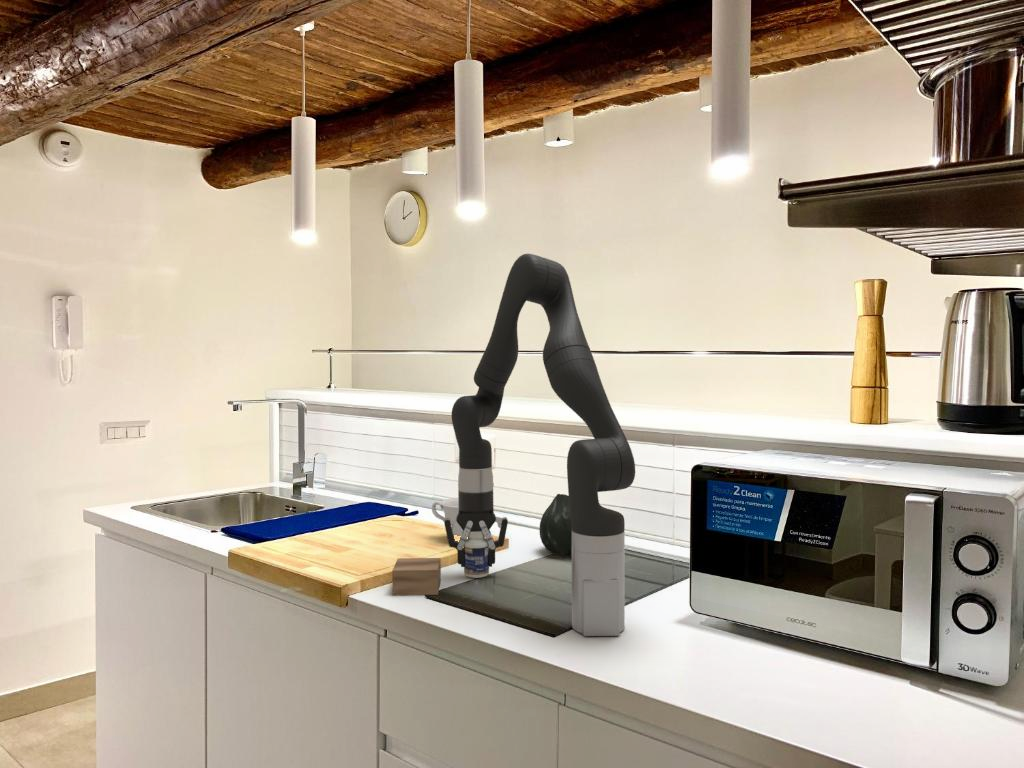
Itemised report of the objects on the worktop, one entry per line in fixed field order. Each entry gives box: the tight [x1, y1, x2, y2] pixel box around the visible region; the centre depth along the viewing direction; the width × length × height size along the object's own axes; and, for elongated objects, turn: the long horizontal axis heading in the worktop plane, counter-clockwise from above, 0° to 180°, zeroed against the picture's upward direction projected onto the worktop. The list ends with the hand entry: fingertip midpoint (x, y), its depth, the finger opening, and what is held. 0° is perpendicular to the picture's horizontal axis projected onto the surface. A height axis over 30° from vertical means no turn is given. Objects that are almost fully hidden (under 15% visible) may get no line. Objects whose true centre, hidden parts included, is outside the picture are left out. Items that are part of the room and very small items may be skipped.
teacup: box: [431, 497, 463, 536], centre depth 200 cm, size 12×15×10 cm
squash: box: [539, 493, 572, 558], centre depth 188 cm, size 14×15×15 cm
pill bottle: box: [463, 531, 490, 579], centre depth 169 cm, size 5×5×10 cm
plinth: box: [391, 557, 442, 596], centre depth 161 cm, size 9×9×5 cm
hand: (476, 565), depth 169 cm, fingers closed on pill bottle, 5 cm apart
